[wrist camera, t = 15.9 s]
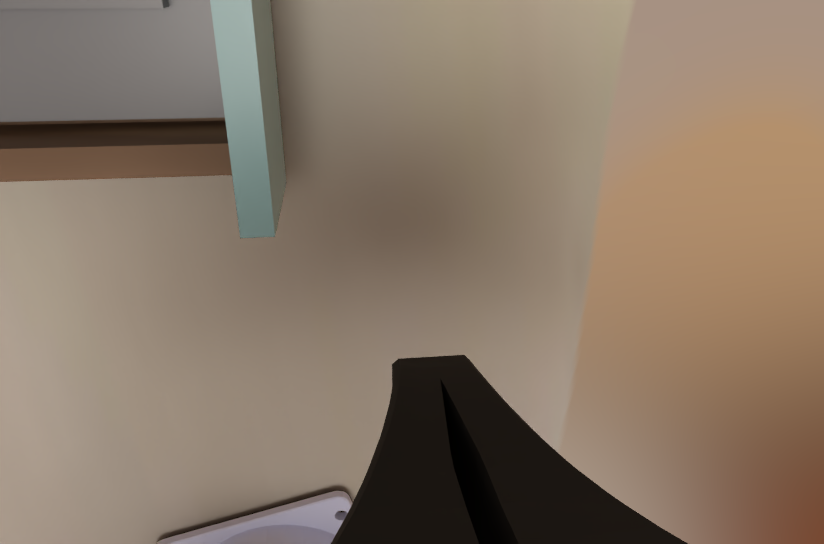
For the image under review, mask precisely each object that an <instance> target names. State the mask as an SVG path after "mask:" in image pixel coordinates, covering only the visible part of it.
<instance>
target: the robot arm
mask: <svg viewBox="0 0 824 544" xmlns="http://www.w3.org/2000/svg"><path fill="white" fill-rule="evenodd" d="M392 386H393V387H392V394H391V399H390V404H389V408H388V412H387V415H386V419H385V423H384V426H383V430H382V433H381V436H380V439H379V442H378V445H377V447H376V450H375V453H374V455H373V458H372V461H371V464H370V466H369V469H368V471H367V473H366V476H365V478H364V480H363V483H362V485H361V487H360V489H359V491H358V494H357V496H356V498H355V500H354V502H353V503H352V501H351V499H350V496H349V495H348V494H347V493H345V492H344V491H333V492H329V493H325V494H322V495H318V496H315V497H311V498H308V499H304V500H300V501H297V502H293V503H290V504H286V505H283V506H279V507H276V508H272V509H268V510H265V511H261V512H258V513H254V514H251V515H247V516H244V517H240V518H236V519H233V520H229V521H226V522H222V523H219V524H215V525H211V526H208V527H204V528H201V529H197V530H194V531H190V532H187V533H183V534H179V535H176V536H172V537H169V538H165V539H162V540H160V541H158V542H157V543H156V544H687V543H686V542H684V541H682V540H681V539H679V538H677V537H675V536H674V535H672V534H671V533H669V532H667V531H665V530H664V529H662V528H660V527H659V526H657V525H656V524H654V523H652V522H651V521H649V520H648V519H646V518H645V517H643V516H641V515H640V514H639V513H637V512H636V511H634V510H632V509H631V508H629V507H628V506H626V505H625V504H623V503H622V502H620V501H619V500H617V499H616V498H615V497H613V496H612V495H610V494H609V493H607V492H606V491H605V490H603V489H602V488H601V487H599V486H598V485H597V484H596V483H594V482H593V481H591V480H590V479H589V478H587V477H586V476H585V475H584V474H582V473H581V472H579V471H578V470H577V469H576V468H575V467H573V466H572V465H571V464H570V463H569V462H567V461H566V460H565V459H564V458H563V457H562V456H561V455H559V454H558V453H557V452H556V451H555V450H554V449H553V448H552V447H551V446H550V445H548V444H547V443H546V442H545V441H544V440H543V439H542V438H541V437H540V436H539V435H538V434H537V433H536V432H535V431H534V430H533V429H532V428H530V426H529V425H528V424H527V423H526V422H525V421H524V420H523V419H522V418H521V417H520V416H519V415H518V414H517V413H516V412H515V411H514V410H513V409H512V408H511V407H510V406H509V405H508V404H507V403H506V402H505V401H504V399H503V398H502V397H501V396H500V395H499V394H498V393H497V392H496V391H495V389H494V388H493V387H492V386H491V385H490V384H489V383H488V381H487V380H486V379H485V378H484V377H483V376H482V374H481V373H480V372H479V371H478V370H477V368H476V367H475V366H474V365H473V364H472V362H471V361H470V360H469V359H468V358H467V357H466V356H465V355H455V356H439V357H422V358H405V359H398V360H397V361H396V362H394V363H393V364H392ZM338 511H345V512H341V513H340V512H338Z"/></svg>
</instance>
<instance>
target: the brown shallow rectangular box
mask: <svg viewBox="0 0 824 544" xmlns="http://www.w3.org/2000/svg"><path fill="white" fill-rule="evenodd" d="M215 175H232V169H231V161H230V153H229V146H228V138H227V130H226V122H225V118H177V119H128V120H79V121H29V122H0V182H9V181H44V180H78V179H112V178H146V177H180V176H215Z"/></svg>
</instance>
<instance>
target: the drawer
mask: <svg viewBox="0 0 824 544" xmlns="http://www.w3.org/2000/svg"><path fill="white" fill-rule="evenodd" d="M177 118H225V122H226V130H227V138H228V146H229V153H230V161H231V169H232V177H233V185H234V193H235V201H236V208H237V216H238V224H239V232H240V238H256V237H275V235H276V230H277V225H278V220H279V215H280V211H281V206H282V201H283V196H284V192H285V187H286V173H285V162H284V150H283V139H282V128H281V116H280V105H279V94H278V82H277V71H276V60H275V48H274V37H273V25H272V14H271V3H270V0H0V122H29V121H79V120H128V119H177Z"/></svg>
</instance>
